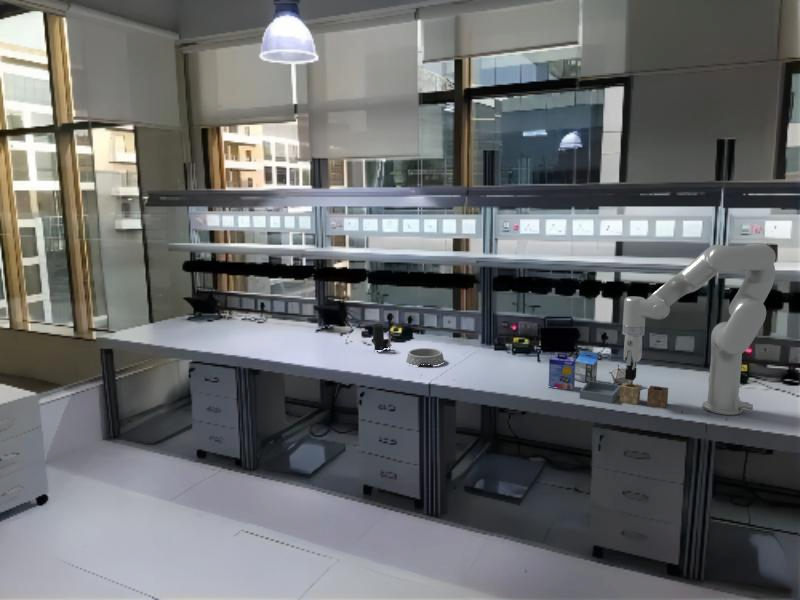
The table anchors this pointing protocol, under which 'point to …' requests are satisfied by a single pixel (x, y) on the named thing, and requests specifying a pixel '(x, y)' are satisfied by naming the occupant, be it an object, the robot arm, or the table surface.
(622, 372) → the beige spiked polyhedron
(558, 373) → the ink cartridge box
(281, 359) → the table surface
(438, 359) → the dog bowl
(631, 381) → the pin gauge
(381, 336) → the scope
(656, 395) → the walnut block
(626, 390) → the oak block
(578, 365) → the label tape box
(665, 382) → the table surface
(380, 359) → the table surface
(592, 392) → the tray
